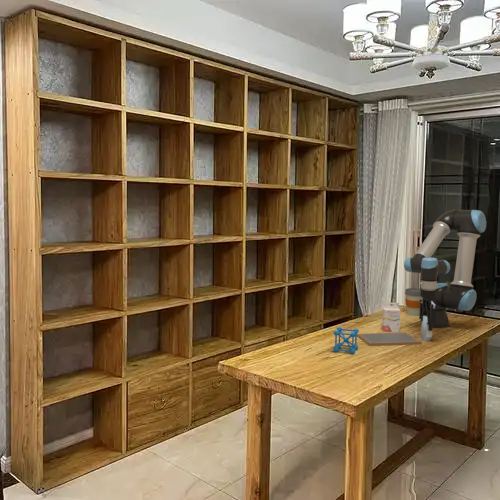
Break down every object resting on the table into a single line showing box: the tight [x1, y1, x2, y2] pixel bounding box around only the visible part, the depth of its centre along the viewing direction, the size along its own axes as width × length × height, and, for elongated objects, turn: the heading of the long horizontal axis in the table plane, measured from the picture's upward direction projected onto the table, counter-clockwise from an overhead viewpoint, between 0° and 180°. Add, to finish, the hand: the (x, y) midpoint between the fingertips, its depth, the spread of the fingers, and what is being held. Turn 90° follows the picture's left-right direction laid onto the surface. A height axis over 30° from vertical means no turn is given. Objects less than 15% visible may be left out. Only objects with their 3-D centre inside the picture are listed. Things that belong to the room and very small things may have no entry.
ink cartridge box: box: [381, 302, 401, 333], centre depth 280 cm, size 9×5×15 cm, turn 84°
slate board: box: [357, 331, 423, 347], centre depth 262 cm, size 26×18×1 cm
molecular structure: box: [332, 326, 360, 355], centre depth 242 cm, size 10×10×10 cm
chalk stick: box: [421, 315, 432, 342], centre depth 262 cm, size 4×4×12 cm
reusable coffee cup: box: [404, 287, 423, 317], centre depth 320 cm, size 13×13×15 cm
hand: (426, 335), depth 262 cm, fingers open, 4 cm apart
